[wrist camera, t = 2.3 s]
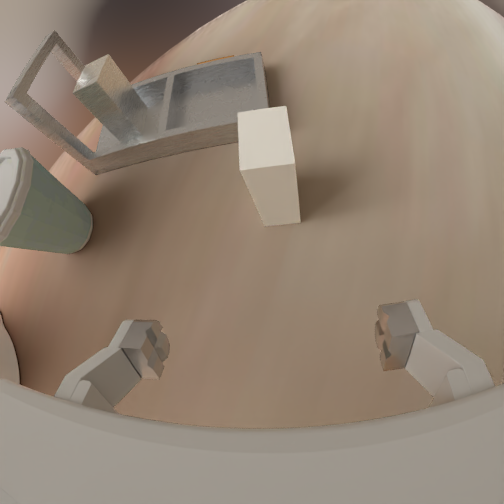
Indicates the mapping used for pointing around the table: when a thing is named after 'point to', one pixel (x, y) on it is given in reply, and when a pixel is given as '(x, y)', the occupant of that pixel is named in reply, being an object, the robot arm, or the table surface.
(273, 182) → the cream rectangular block
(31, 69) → the rack
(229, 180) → the table surface
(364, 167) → the table surface
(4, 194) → the disposable coffee cup
